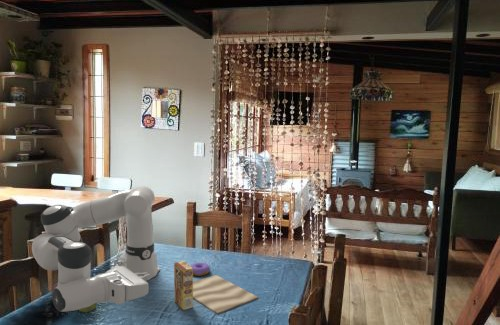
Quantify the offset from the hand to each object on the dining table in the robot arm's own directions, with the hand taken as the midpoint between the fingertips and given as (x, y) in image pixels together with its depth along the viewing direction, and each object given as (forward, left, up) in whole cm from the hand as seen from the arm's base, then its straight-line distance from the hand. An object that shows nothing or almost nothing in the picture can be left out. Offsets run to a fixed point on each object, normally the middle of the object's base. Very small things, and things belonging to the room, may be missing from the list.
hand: (148, 275), depth 133 cm
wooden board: (0, +30, -15) cm, 33 cm away
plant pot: (-19, -15, -15) cm, 29 cm away
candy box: (0, +14, -15) cm, 21 cm away
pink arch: (-36, -17, -15) cm, 43 cm away
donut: (-22, +36, -15) cm, 45 cm away
